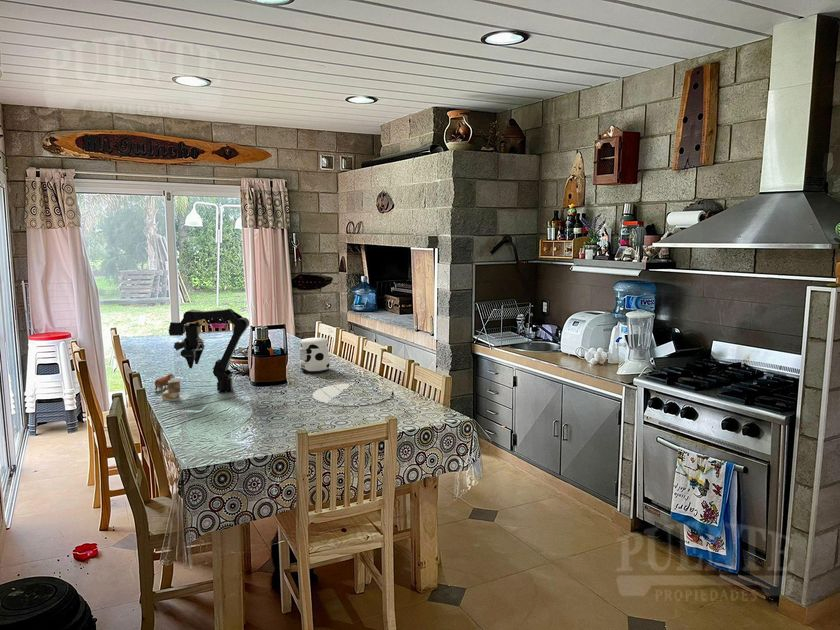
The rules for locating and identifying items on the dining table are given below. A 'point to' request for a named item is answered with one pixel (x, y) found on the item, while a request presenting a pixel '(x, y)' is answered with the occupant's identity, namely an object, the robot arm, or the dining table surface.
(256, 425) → the dining table surface
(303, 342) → the milk container
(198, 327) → the stone cup
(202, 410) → the dining table surface
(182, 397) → the mat
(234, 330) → the robot arm
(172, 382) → the walnut cube
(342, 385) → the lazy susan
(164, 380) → the bull figurine
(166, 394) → the oak base block
